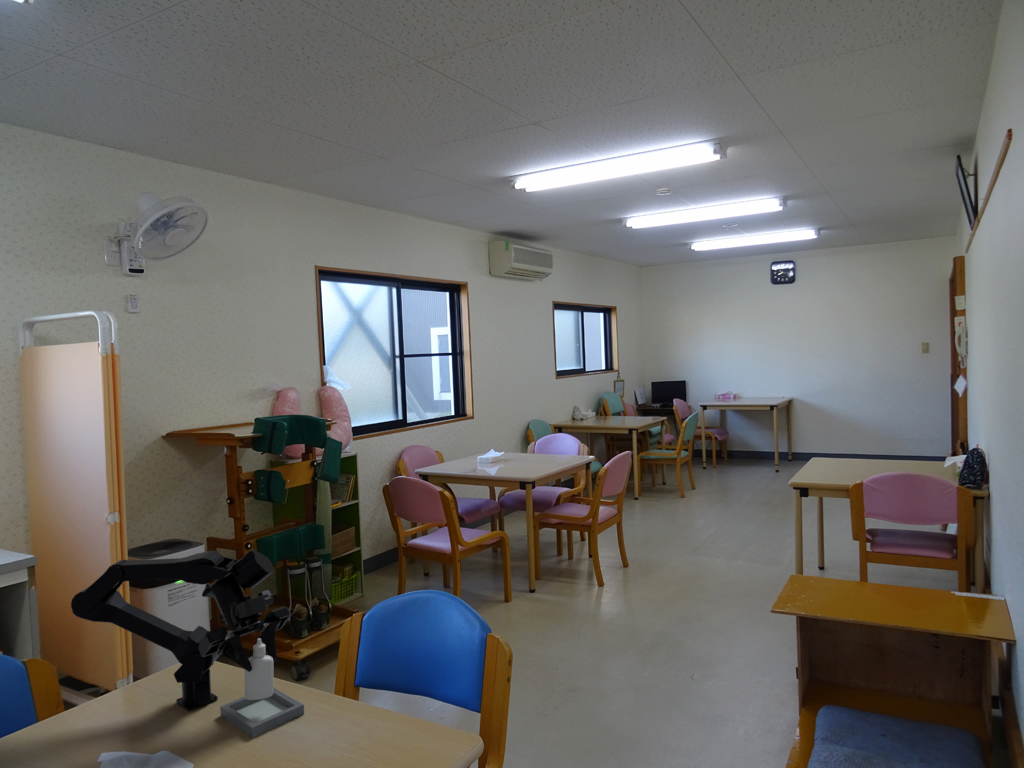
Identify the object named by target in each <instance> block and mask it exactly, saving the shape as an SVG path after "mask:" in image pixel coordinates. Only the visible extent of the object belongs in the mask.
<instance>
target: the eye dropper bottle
mask: <svg viewBox="0 0 1024 768" xmlns="http://www.w3.org/2000/svg"><path fill="white" fill-rule="evenodd" d="M248 659H249V661H250V663H251V666H252V670H251V671H250V672H248V671H247V670H245V669H244V697H245V699H247V700H258V699H264V698H268V697H271V696H272V695H273V688H274V662H273V658H272V657H271V656H269V655H268V654H266V650H265V644H263V643H262V641H261V638H260V637H258V638H257V640H256V644H254V645H253V646H252V656H250V657H248Z"/></svg>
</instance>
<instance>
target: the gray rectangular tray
mask: <svg viewBox="0 0 1024 768" xmlns="http://www.w3.org/2000/svg"><path fill="white" fill-rule="evenodd" d="M219 708H220V709H219V710H220V717H221V718H223V719H225V720H226V721H227V722H229V723H230V724H232V725H233V726H235V727H236V728H238V729H240V731H242V732H243V733H245V734H247V736H250V737H251V738H252V739H253V738H255V737H258V736H259V735H261V734H264V733H266V732H268V731H271V730H272V729H275V728H276V727H280V726H282V725H284V724H286V723H288V722H290V721H292V720H294V719H296V718H299V717H301V716H303V715H304V714H305V704H304V703H302V702H300V701H299V700H296V699H294V698H292V697H291V696H289V695H287V694H285V692H282V691H280V690H279V689H277V688H275V687H273V695H272V696H271V697H268V698H264V699H258V700H247V699H245V696H243V697H240V698H237V699H235V700H233V701H230V702H228V703H227V702H226V704H222V705H220V706H219Z"/></svg>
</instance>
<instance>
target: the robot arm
mask: <svg viewBox="0 0 1024 768" xmlns="http://www.w3.org/2000/svg"><path fill="white" fill-rule="evenodd" d="M274 571H275V569H274V565H273V563H272V561H271V560H270V558H269V557H268V556H265V554H263V553H261V552H259V551H257V550H256V549H255V548H251V550H249V551H248V552H247V553H246V554H245V555H244V556H243V557H242V558H241V559H236V558H232V557H227V556H224V555H222V554H221V553H220V552H219V551H216V550H209V551H203V552H199V553H194V554H192V555H189V556H188V555H187V556H185V557H180V558H178V557H177V558H160V559H159V558H158V559H157V558H156V559H153V558H152V559H134V560H133V559H132V560H128V559H120V560H119V561H116V562H115V563H113V564H111V565H110V566H109V567H108V568H107V569H106V570H105V572H104V573H102V575H100V576H99V577H98V578H97V579H96V580H95V581H94V582H93V583H92V584H90V585H89V586H88V587H86V588H85V589H83V590H81V591H79V592H78V593H76V594H74V596H73V597H72V599H71V602H70V607H71V608H70V609H71V611H72V612H71V613H72V614H73V615H74V616H75V617H77V618H79V619H82V620H85V621H90V622H94V623H108V624H109V623H111V624H113V625H115V626H117V627H119V628H121V629H123V630H125V631H128V632H129V633H132V634H134V635H136V636H138V637H140V638H142V639H145V640H146V641H149V642H150V643H152V644H155V645H158V646H159V647H161V648H163V649H166V650H167V651H169V652H170V653H172V654H173V656H174V658H176V660H177V661H178V663H179V664H181V665H180V666H179V667H178V668H177V669H176V670H175V672H174V673H173V677H174V679H175V681H176V683H179V684H181V694H182V695H181V696H182V697H180V698H177V699H176V700H175V701H176V703H177V704H178V705H179V706H181V707H182V708H183V709H185V710H186V711H193V710H195V709H197V708H201V707H202V706H204V705H207V704H210V703H212V702H214V701H217V700H218V699H219V698H218V696H217V695H216V694H215V693H213V692H212V683H211V667H212V666H213V665H214V664H215V662H216V661H217V659H218V658H220V656H221V655H222V656H224V657H226V658H228V659H229V660H232V661H233V662H234V663H236V664H237V665H238V666H240V667H241V668H243V669H244V671H245V670H247V671H248V672H250V671H251V670H252V666H251V663H250V661H249V659H248V658H249V657H248V655H247V654H246V651H245V649H244V647H243V645H242V639H241V638H242V637H243V636H246V635H249V634H251V633H255V632H257V631H259V632H260V636H259V638H261V641H262V643H263V644H265V653H266V655H269V656H271V657H272V658H273V663H274V662H275V663H276V661H277V659H278V658H277V657H278V656H277V645H276V633H277V631H279V630H281V629H283V628H284V627H285V625H286V624H287V622H288V621H289V620H290V618H291V617H292V613H291V610H290V608H288V607H287V606H285V605H283V606H280V607H277V608H274V609H272V610H269V606H271V605H273V604H274V603H275V602H274V597H273V595H272V593H271V591H270V590H269V589H265V590H263V591H261V592H259V593H257V596H256V597H253V598H252V596H251V595H246V593H245V591H244V590H246V589H248V590H249V589H250V590H251V589H254V588H255V587H256V586H257V585H259V584H260V583H261V582H262V581H264V580H265V579H266V578H268V577H269V576H271V575H272V574H273V573H274ZM161 580H176V581H177V580H178V581H182V582H184V583H187V584H195V585H205V587H204V589H203V591H202V594H201V597H203V598H211V599H212V598H214V600H215V602H216V604H217V606H218V608H219V611H220V613H221V614H220V615H219V619H220V621H225V624H226V626H227V628H228V630H227V628H226V627H224V626H221V627H218V628H215V629H213V630H208V629H206V628H205V627H204V626H202V625H198V626H197V627H196V628H195V629H194V630H185V629H183V628H181V627H178V626H177V625H174V624H172V623H170V622H168V621H166V620H164V619H162V618H161V617H158V616H155V615H153V614H152V613H149V612H147V611H146V610H144V609H141V608H139V607H137V606H135V605H133V604H131V603H129V602H127V601H126V600H125V598H124V597H123V595H122V594H121V593H120V592H119V591H118V589H119V588H120V587H121V586H122V585H123V584H124V582H136V581H137V582H139V581H161ZM214 580H215V581H214ZM212 581H214V582H213V583H212ZM268 610H269V611H268ZM265 611H268V613H267V615H266V616H265V617H264V618H262V619H259V618H261V616H262V615H263V613H262V612H265ZM258 619H259V620H258Z"/></svg>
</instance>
